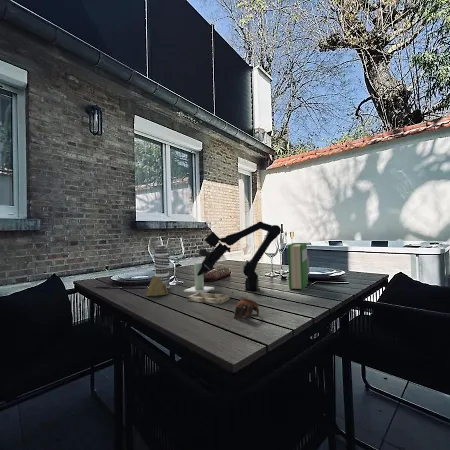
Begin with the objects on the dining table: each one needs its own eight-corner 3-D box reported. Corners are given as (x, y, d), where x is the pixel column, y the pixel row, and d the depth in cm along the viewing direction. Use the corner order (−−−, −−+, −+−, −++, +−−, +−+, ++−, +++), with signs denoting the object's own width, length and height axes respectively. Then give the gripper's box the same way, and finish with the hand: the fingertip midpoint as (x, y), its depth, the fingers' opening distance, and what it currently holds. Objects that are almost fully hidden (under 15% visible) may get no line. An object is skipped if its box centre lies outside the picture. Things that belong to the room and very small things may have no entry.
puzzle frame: (229, 300, 138) (229, 295, 138) (220, 305, 129) (220, 299, 129) (198, 297, 145) (198, 292, 145) (188, 301, 137) (188, 296, 137)
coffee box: (298, 277, 190) (297, 252, 190) (308, 277, 189) (308, 252, 189) (299, 279, 181) (298, 254, 182) (310, 280, 180) (309, 254, 180)
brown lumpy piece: (229, 316, 115) (236, 296, 118) (250, 325, 116) (257, 305, 119) (237, 317, 104) (245, 295, 107) (260, 327, 105) (268, 305, 108)
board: (214, 289, 161) (214, 287, 161) (203, 294, 150) (203, 291, 150) (195, 288, 166) (195, 285, 166) (184, 293, 156) (183, 290, 156)
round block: (205, 288, 157) (204, 263, 157) (196, 290, 155) (196, 263, 155) (201, 287, 162) (201, 262, 162) (193, 288, 159) (192, 262, 159)
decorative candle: (163, 290, 165) (161, 246, 165) (151, 288, 169) (149, 246, 169) (173, 286, 172) (172, 244, 173) (161, 285, 177) (160, 244, 177)
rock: (173, 288, 157) (159, 284, 161) (168, 277, 152) (153, 274, 156) (162, 304, 150) (147, 300, 154) (156, 293, 145) (141, 289, 149)
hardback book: (303, 290, 152) (301, 245, 153) (289, 289, 155) (287, 245, 155) (307, 284, 169) (306, 242, 169) (295, 283, 172) (293, 242, 172)
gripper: (207, 242, 168) (189, 261, 168) (205, 244, 149) (185, 266, 149) (221, 255, 168) (203, 274, 168) (221, 258, 149) (201, 281, 149)
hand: (198, 273), depth 158 cm, fingers open, 9 cm apart
